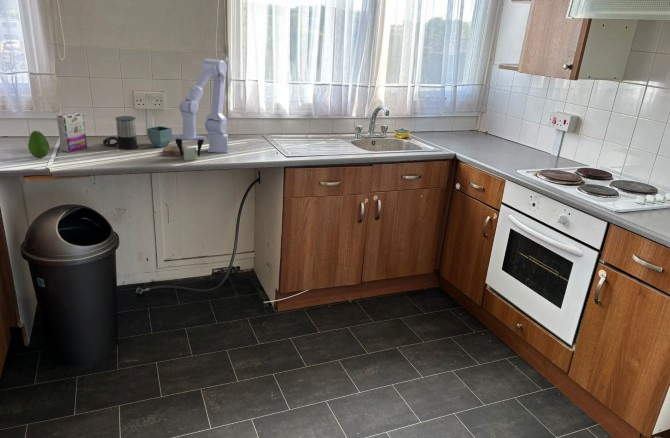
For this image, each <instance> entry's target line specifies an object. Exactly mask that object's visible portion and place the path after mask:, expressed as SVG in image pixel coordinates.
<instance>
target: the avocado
mask: <svg viewBox="0 0 670 438" xmlns="http://www.w3.org/2000/svg"><path fill="white" fill-rule="evenodd" d="M27 146H28V151H29V152H30V153H29V154H31V155H32V156H33V157H34V158H37V159H41V158H45V157H46V156H47V155H48V154H49V152H50V144H49V142H48V139H47V138H46V136H45V135H44V134H43V132H41V131H39V130H33V131H31V133H30V135H29V140H28V144H27Z"/></svg>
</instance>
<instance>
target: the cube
mask: <svg viewBox="0 0 670 438" xmlns="http://www.w3.org/2000/svg"><path fill="white" fill-rule="evenodd" d="M183 159H184V161H196V159H197V146H195V147H194V146H187V147H185V148H184V157H183Z"/></svg>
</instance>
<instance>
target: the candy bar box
mask: <svg viewBox="0 0 670 438" xmlns="http://www.w3.org/2000/svg"><path fill="white" fill-rule="evenodd" d="M56 122H57V127H58V128H57V129H58V135H59V141H60V142H59V143H60V148H61V151H62V152H66V153H72V152H76V151H80V150H83V149H87V148H88V142H87V135H86V128H85V127H86V126H85V120H84V113H81V112H71V113H66V114H62V115H57V116H56Z"/></svg>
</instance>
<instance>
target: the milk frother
mask: <svg viewBox="0 0 670 438" xmlns="http://www.w3.org/2000/svg"><path fill="white" fill-rule="evenodd" d="M114 119H115V122H116V123H115V124H116V132H117V135H116V136H109V137H106V138H105V139H103V141H102V144H103V146H106V147H114V146H117V149H119V150H122V151H130V150H132V151H133V150H136V149H138V148H139V146H138V141H137V128H136V117H134V116H132V115H122V116H115V118H114ZM111 140H114V141H116V142H114V143H111Z"/></svg>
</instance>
